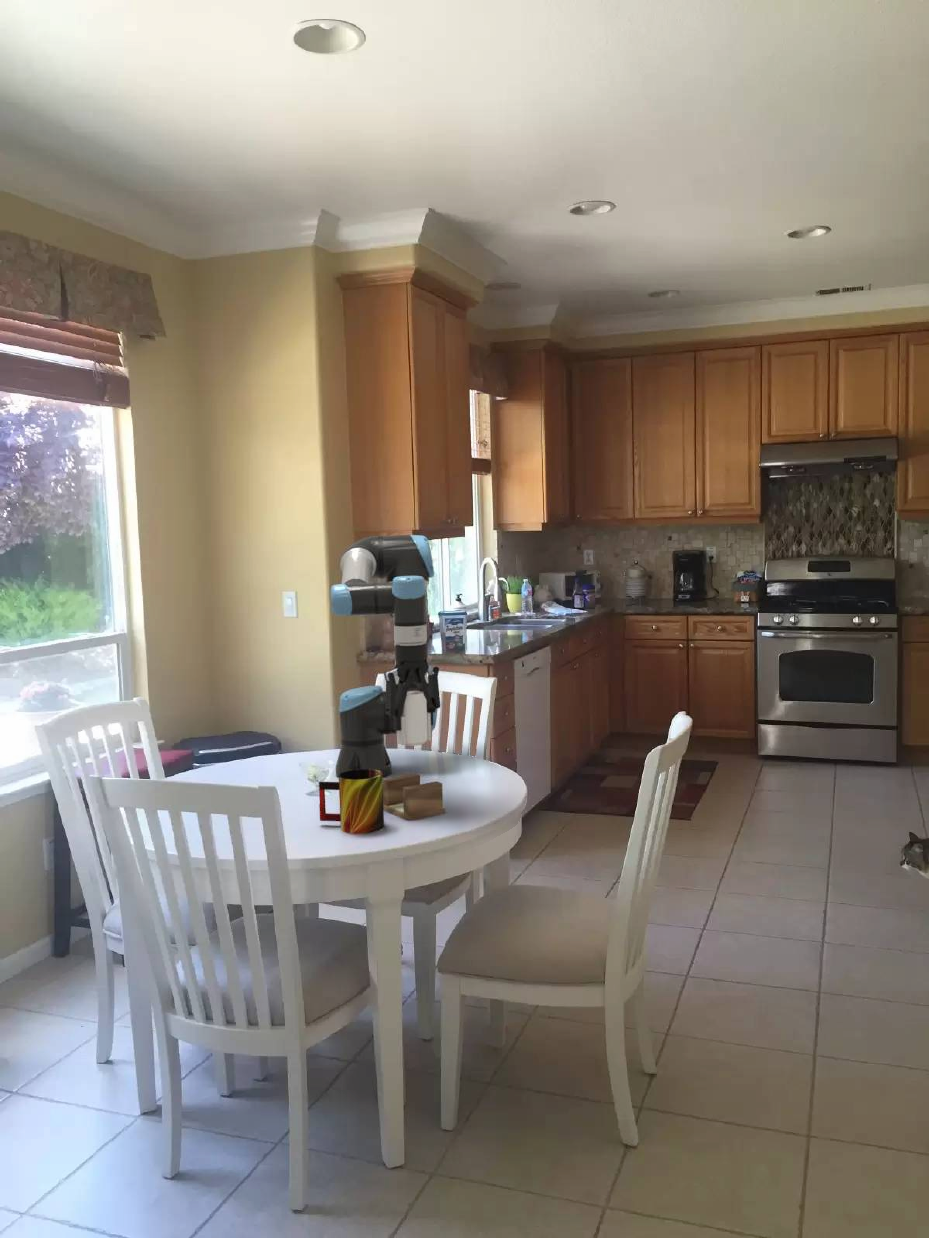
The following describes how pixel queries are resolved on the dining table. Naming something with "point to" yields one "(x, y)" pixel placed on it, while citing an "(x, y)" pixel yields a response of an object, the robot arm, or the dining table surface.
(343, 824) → the mug
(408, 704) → the beverage can
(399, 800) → the post bracket
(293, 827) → the dining table surface
